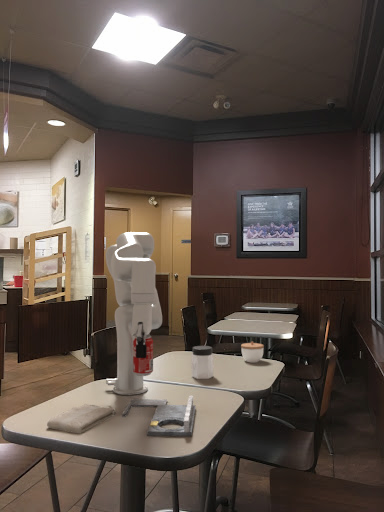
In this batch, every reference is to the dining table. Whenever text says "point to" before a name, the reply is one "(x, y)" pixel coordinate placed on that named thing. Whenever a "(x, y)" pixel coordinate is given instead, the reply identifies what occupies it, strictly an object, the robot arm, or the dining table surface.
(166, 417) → the rack
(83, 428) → the washcloth
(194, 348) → the jar
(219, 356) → the dining table surface
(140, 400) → the grey flat l-shaped piece
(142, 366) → the beverage can
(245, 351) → the lidded jar
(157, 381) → the dining table surface
